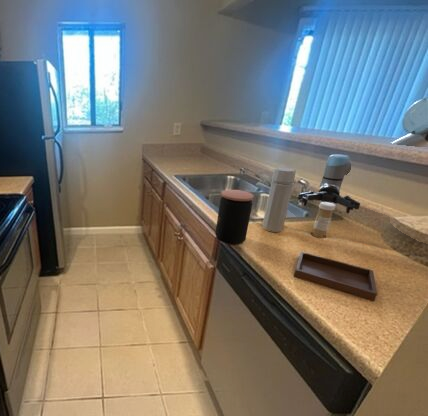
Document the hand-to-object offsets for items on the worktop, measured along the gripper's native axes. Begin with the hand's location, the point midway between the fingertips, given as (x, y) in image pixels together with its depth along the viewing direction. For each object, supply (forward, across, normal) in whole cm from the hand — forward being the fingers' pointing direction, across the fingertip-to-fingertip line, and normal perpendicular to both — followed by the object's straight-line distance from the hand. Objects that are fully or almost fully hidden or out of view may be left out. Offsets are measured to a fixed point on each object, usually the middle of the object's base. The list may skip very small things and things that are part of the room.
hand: (326, 206), depth 109 cm
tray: (+39, -5, -10) cm, 40 cm away
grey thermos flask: (+14, +15, -10) cm, 23 cm away
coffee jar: (+32, +26, -10) cm, 42 cm away
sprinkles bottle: (+9, 0, -10) cm, 13 cm away
